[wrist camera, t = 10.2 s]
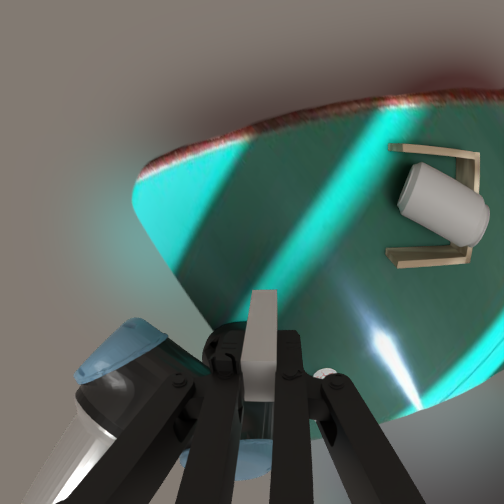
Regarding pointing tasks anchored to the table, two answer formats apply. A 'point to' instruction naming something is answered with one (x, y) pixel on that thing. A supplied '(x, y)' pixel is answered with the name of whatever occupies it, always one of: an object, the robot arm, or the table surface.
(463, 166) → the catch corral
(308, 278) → the table surface
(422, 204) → the can
